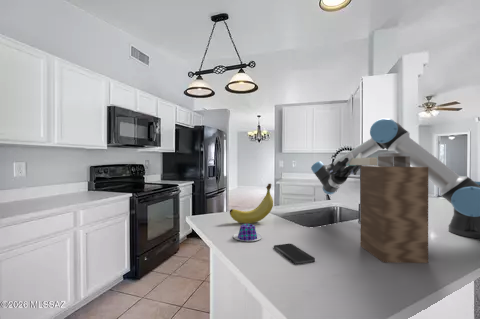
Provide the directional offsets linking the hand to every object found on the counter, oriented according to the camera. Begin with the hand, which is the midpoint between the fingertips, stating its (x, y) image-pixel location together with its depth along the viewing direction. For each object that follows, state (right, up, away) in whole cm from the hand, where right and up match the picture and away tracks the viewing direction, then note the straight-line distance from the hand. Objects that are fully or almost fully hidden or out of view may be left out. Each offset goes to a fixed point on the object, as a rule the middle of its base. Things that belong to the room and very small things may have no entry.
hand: (356, 155), depth 105 cm
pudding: (-49, -35, -8) cm, 61 cm away
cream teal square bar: (0, -4, -2) cm, 5 cm away
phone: (-34, -35, -25) cm, 55 cm away
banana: (-46, -34, +14) cm, 60 cm away
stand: (0, -34, -25) cm, 42 cm away
